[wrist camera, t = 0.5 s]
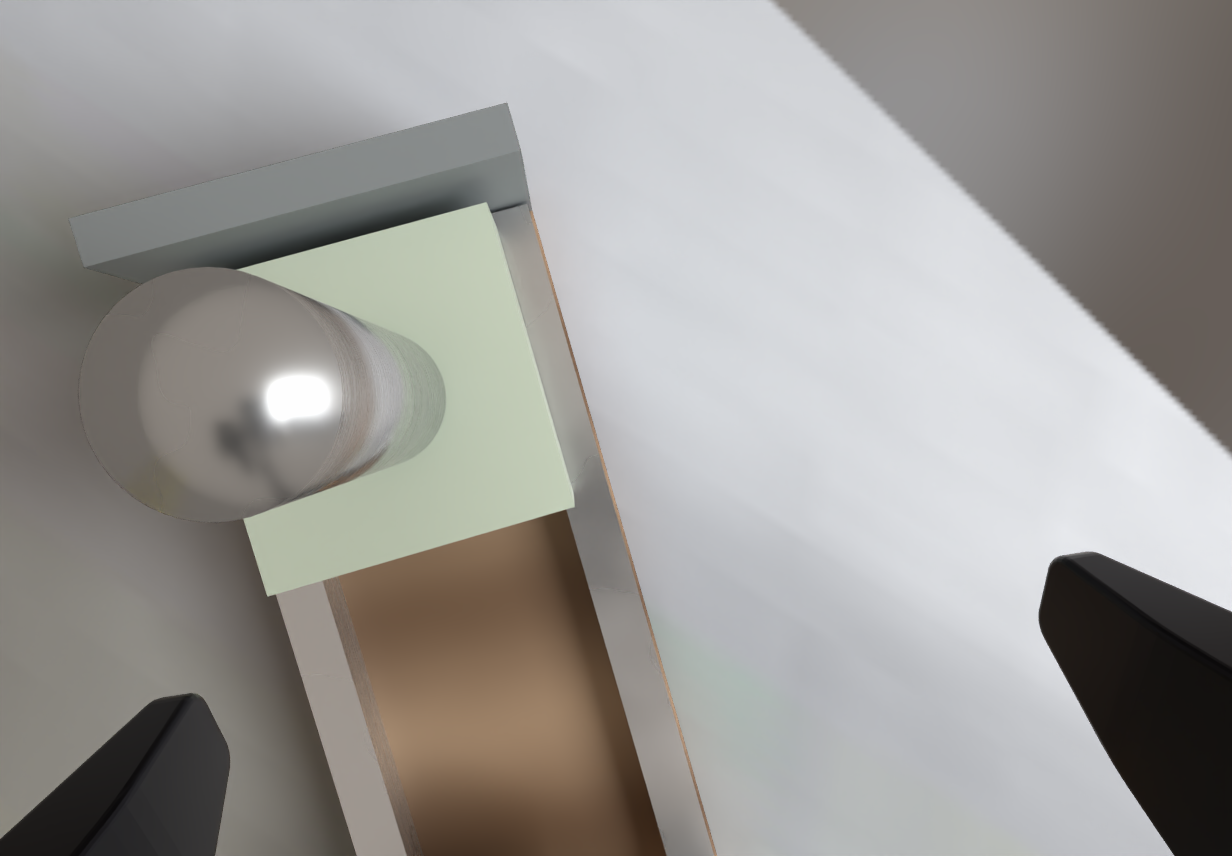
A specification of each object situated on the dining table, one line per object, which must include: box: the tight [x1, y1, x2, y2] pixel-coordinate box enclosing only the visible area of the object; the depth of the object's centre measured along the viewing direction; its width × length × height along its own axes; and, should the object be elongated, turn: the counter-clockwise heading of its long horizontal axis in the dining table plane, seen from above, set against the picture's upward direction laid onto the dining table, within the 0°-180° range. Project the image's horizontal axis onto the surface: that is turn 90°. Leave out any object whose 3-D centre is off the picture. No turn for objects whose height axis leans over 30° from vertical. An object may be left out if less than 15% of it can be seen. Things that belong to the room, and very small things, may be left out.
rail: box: [68, 103, 717, 856], centre depth 19 cm, size 23×9×8 cm, turn 16°
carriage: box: [79, 202, 575, 597], centre depth 14 cm, size 7×7×10 cm
